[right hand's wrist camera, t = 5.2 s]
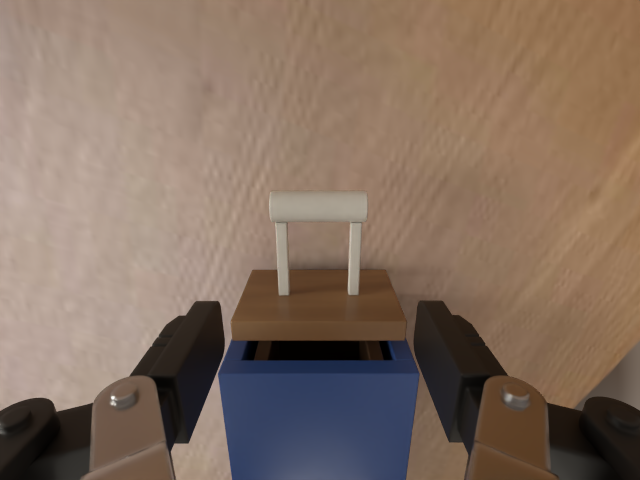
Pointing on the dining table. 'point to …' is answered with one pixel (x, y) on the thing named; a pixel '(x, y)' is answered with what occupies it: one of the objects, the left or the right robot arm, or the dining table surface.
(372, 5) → the dining table surface
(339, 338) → the drawer
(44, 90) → the dining table surface
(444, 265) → the dining table surface
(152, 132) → the dining table surface
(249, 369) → the cabinet
